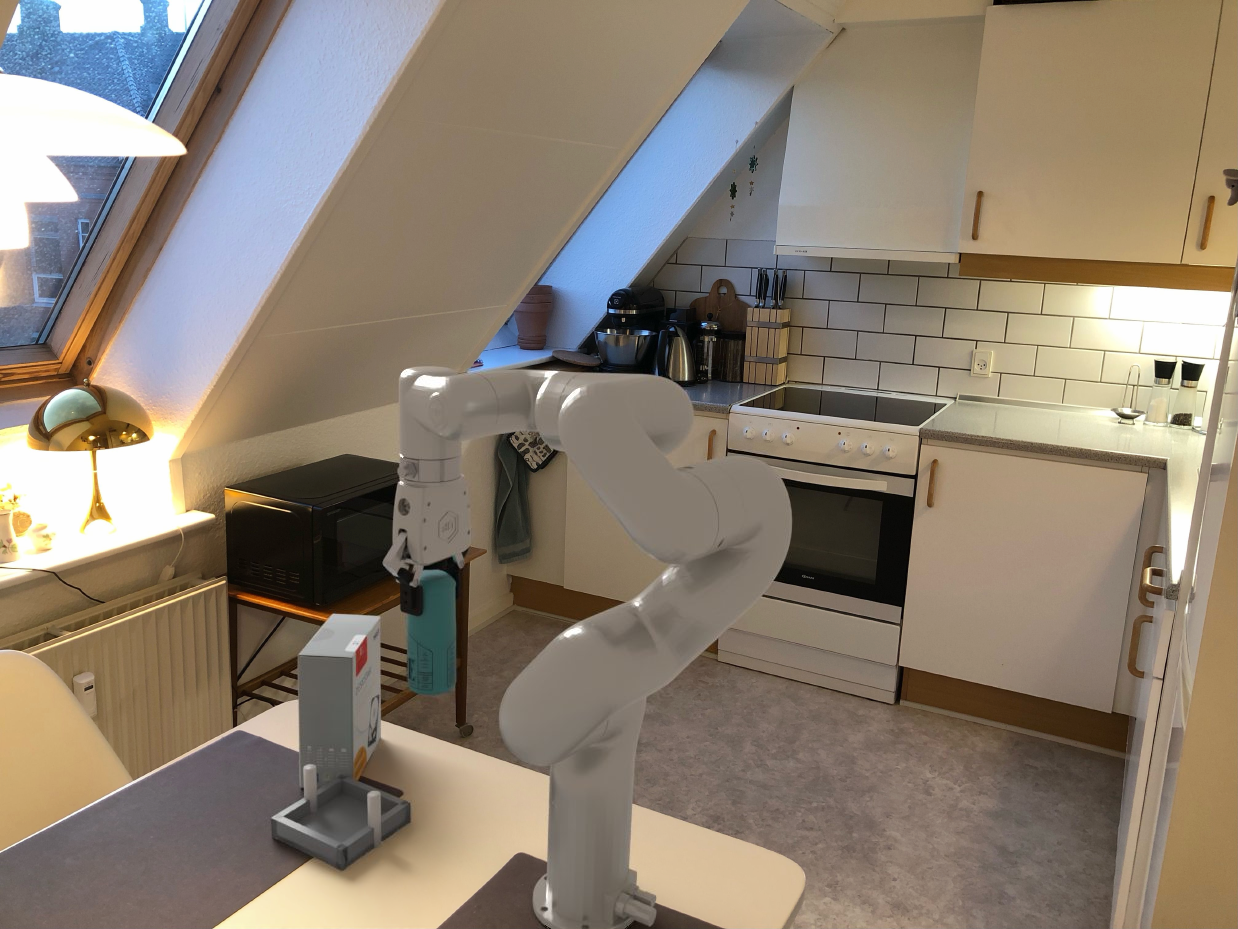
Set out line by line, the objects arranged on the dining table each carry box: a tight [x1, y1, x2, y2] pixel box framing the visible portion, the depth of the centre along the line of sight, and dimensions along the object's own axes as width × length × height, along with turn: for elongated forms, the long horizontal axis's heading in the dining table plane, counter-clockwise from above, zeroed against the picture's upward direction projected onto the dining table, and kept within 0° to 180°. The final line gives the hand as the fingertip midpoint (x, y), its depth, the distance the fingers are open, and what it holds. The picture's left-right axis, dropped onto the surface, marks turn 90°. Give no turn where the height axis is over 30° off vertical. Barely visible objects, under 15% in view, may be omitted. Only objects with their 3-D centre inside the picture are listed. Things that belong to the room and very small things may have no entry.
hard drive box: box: [297, 613, 382, 789], centre depth 141 cm, size 16×8×20 cm, turn 179°
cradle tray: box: [270, 764, 412, 871], centre depth 126 cm, size 13×12×7 cm
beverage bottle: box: [405, 558, 458, 696], centre depth 126 cm, size 6×7×20 cm
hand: (431, 603), depth 125 cm, fingers closed on beverage bottle, 6 cm apart
